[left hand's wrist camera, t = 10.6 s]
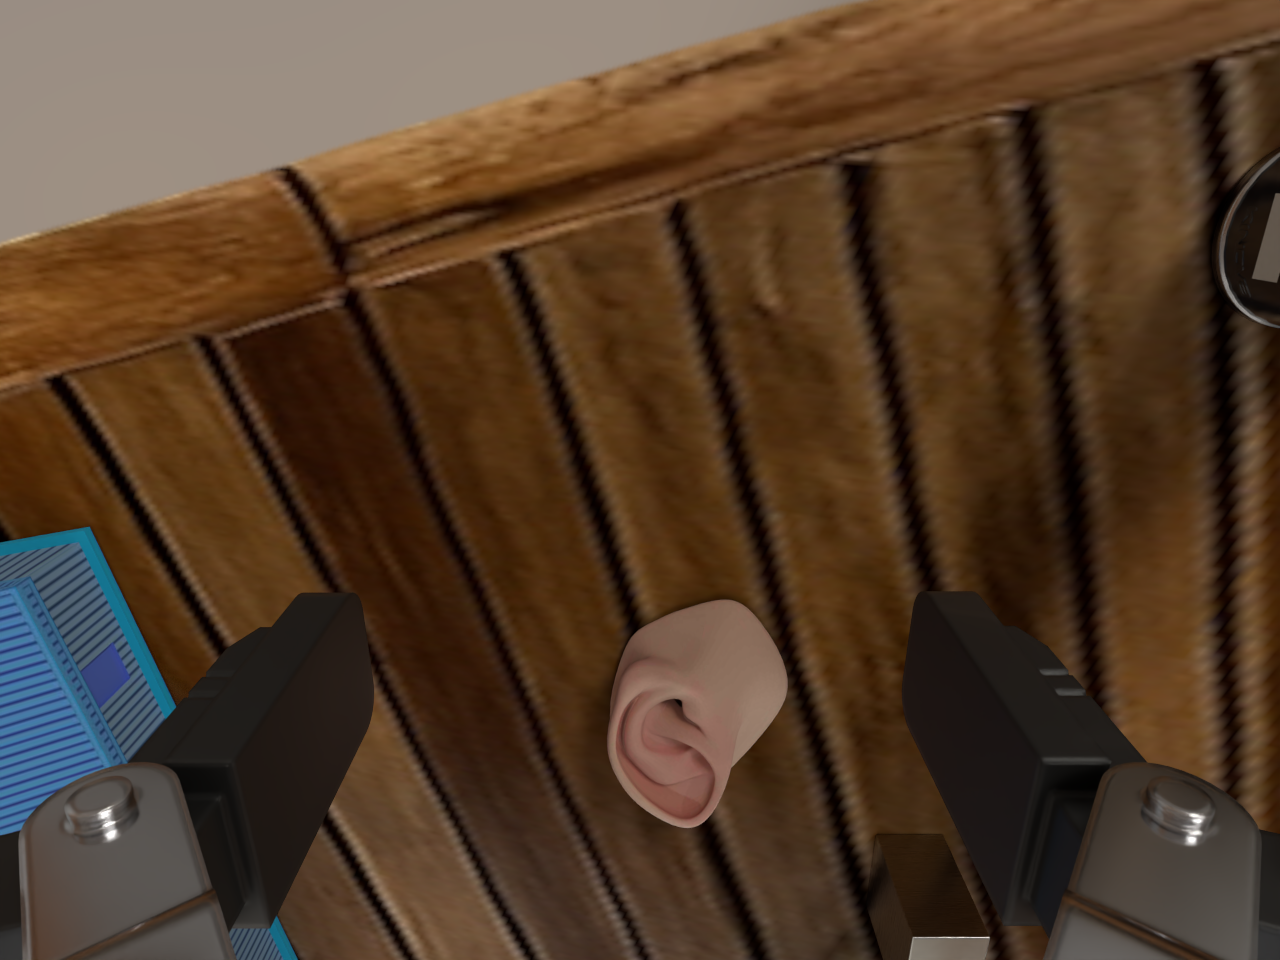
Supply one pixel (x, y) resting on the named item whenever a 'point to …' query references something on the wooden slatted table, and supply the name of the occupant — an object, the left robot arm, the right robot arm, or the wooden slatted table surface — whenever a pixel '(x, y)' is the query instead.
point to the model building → (77, 685)
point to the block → (922, 902)
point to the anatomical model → (691, 707)
